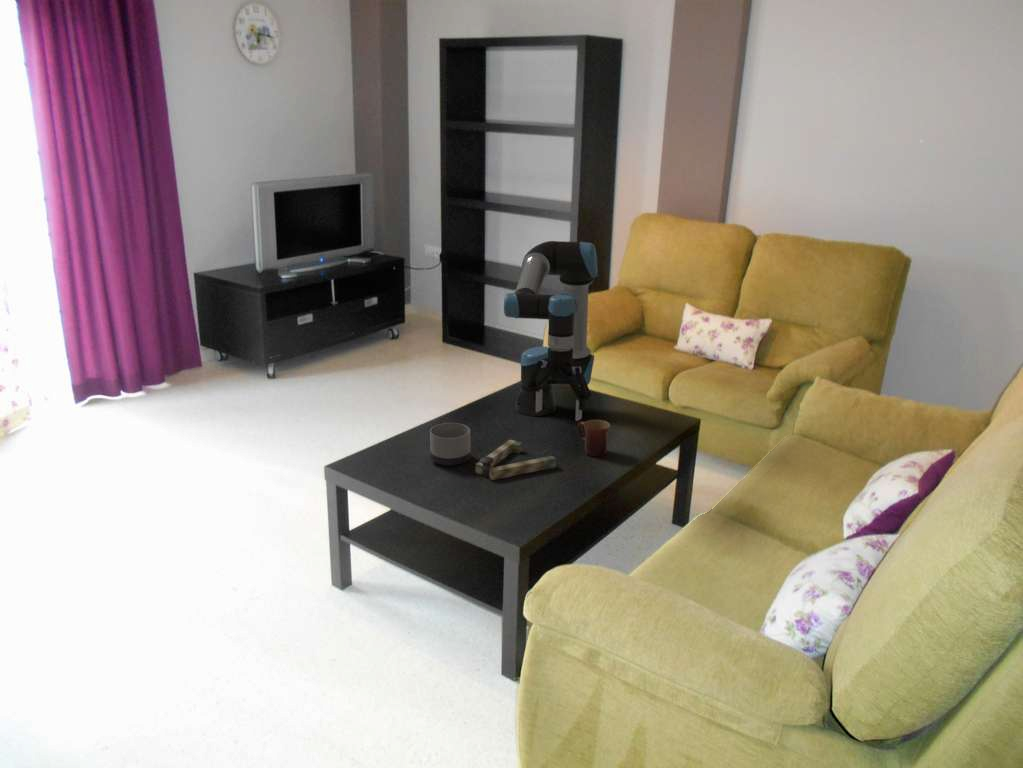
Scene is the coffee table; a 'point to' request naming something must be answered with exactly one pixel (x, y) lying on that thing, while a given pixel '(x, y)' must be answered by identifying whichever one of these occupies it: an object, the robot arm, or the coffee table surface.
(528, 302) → the robot arm
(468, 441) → the planter
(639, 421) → the coffee table surface
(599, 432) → the mug
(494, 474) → the tongs jaw
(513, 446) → the tongs fixed
